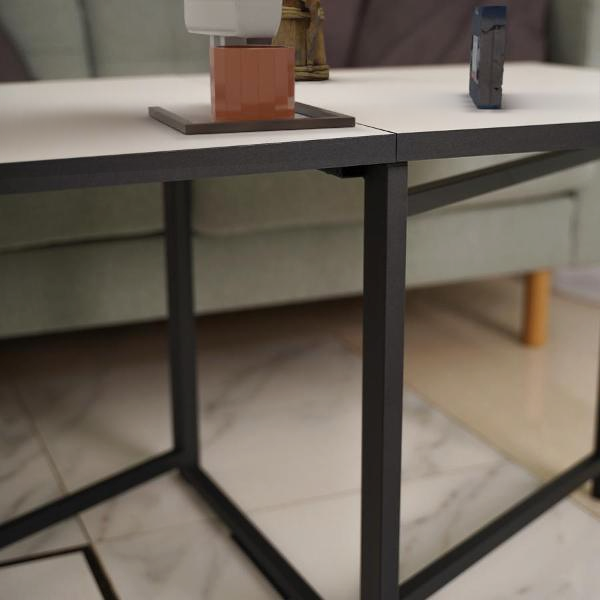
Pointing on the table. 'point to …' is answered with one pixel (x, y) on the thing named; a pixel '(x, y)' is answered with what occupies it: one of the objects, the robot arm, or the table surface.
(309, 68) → the wooden mug
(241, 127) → the frame
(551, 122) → the table surface
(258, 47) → the cup
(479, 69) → the vhs cassette tape
